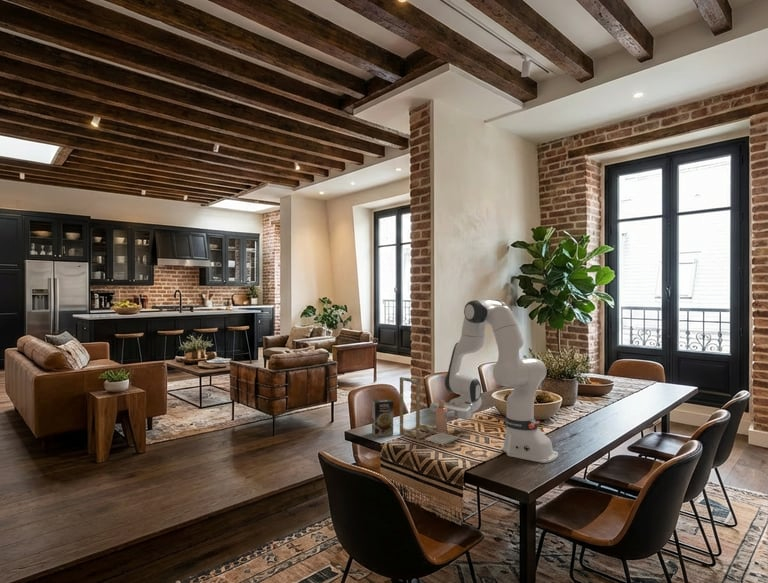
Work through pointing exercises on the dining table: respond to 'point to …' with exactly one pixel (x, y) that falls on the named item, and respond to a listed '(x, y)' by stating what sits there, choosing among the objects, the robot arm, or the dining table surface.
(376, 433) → the coffee box
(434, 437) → the coaster
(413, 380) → the rack
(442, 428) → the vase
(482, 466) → the dining table surface
